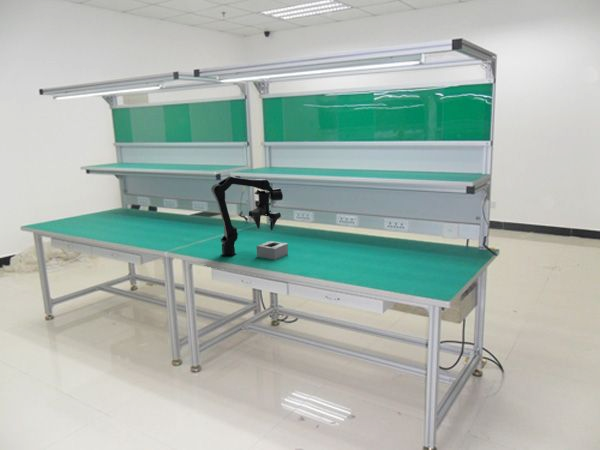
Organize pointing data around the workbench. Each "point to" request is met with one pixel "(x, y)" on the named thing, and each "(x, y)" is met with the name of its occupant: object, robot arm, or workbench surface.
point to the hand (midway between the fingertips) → (265, 229)
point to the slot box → (272, 250)
